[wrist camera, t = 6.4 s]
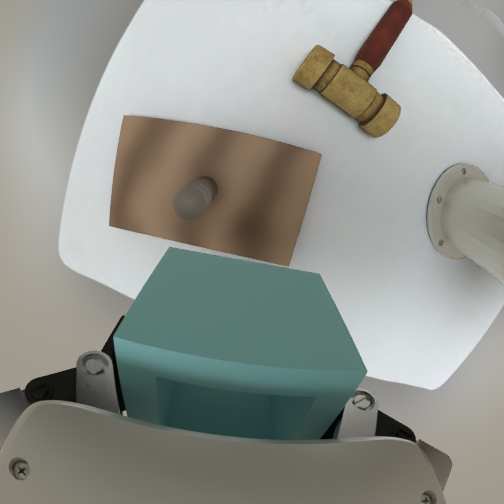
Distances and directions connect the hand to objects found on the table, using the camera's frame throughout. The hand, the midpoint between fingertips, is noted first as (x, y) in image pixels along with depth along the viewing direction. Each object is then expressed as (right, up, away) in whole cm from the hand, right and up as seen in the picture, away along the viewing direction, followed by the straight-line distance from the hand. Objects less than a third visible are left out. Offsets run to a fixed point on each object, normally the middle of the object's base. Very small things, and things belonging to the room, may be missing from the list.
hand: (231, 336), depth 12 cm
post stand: (-4, +10, +16) cm, 19 cm away
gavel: (+14, +26, +10) cm, 32 cm away
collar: (0, 0, +1) cm, 1 cm away
